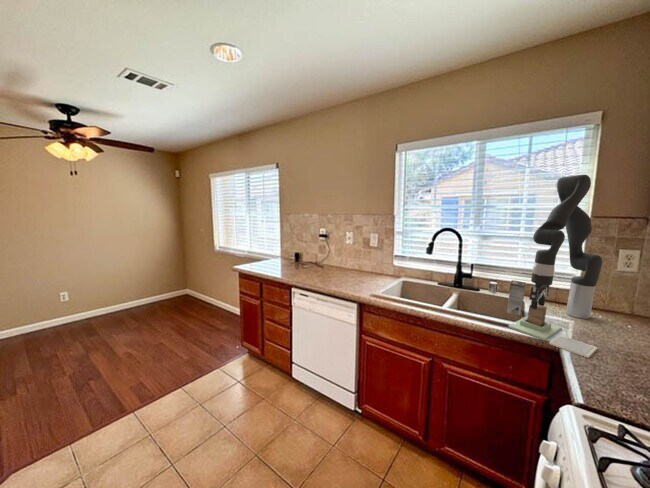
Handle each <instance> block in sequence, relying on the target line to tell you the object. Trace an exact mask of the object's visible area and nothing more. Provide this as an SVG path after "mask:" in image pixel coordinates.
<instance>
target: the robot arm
mask: <svg viewBox="0 0 650 488" xmlns="http://www.w3.org/2000/svg"><path fill="white" fill-rule="evenodd" d="M591 184H592V179H591V177H590V176H589V175H587V174H576V175H568V176H562V177H559V178H558V180H557V182H556V190H557V195H558V198H559V201H560V203H559V204H557V205H556V206H555V207H554V208H553V209H552V210H551V211H550V213H549V215H548V216H547V219H546V221H544V222H543V224H541V226H540V227H538V228H537V229H536V230H535V232H534V233H533V238H532V239H533V242H534V243H535V244H538V245H541V246H542V245H543V246H549V249H539V250H537V251H536V253H535V258H534V264H533V267H532V272H531V274H532V275H531V277H530V281H531V283H534V284H535V285H534V286H531V288H530V294H529V300H530V301H531V302H530V305H531V308H532V309H537V305H538V304H539V305H542V306H545V302H546V298H547V297H548V296H549V293H550V286H552V285H553V279H554V275H555V265H556V259H557V255H558V253H559V250H560V248H561V246H562V245H563V244H564V242H565V237H566V235H565V233H564V232H563V231H562V230H563V229H564V228H565V231H566V234H567V241H568V248H569V249H568V250H569V263H570V266H571V268H573V269H574V270H576V271H581V272H582V271H583V272H584V274H583V275H578V276H577V275H576V276H573V277H571V280H570V281H571V282H570V286H569V287H570V288H569V292H568V299H567V304H566V311H565V314H566V315H568V316H571V317H573V318H577V319H582V320H584V319H585V320H587V319H590V318H591V313H592V309H593V308H592V307H593V302H594V297H595V292H596V286H597V284H598V281H599V277H600V274H601V269H602V266H603V258H602V257H601V256H600V255H598V254H594V253H587V252H584V250H583V244H584V242H585V241H586V240H587V239H588V238H589V236H590V235H591V233H592V230H593V228H592V221H591V217H590V216H589V214H587V212H585V211H584V210H583V209H582V208H581V207H580V206H578V205H579V204H580V203H581V202H582V201H583V199H584V198H585V197H586V195H587V194H588V192H589V190H590V188H591Z"/></svg>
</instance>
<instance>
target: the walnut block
mask: <svg viewBox="0 0 650 488" xmlns="http://www.w3.org/2000/svg"><path fill="white" fill-rule="evenodd" d="M547 310H548V306H545V305H544V306H542V305H539V304H538V305H537V309H532V308H531V304H529V307H528V313H527V316H528V319H527V322H528V323H531V324H534V325H537V326H540V327H543V326H544V322H546V314H547Z"/></svg>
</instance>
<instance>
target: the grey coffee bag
mask: <svg viewBox="0 0 650 488" xmlns="http://www.w3.org/2000/svg"><path fill="white" fill-rule="evenodd" d="M509 285H510V286H509V294H508V300H507V307H506V308H507V309H506V313H508V314H512V315H516V316H522V312H523V305H524V298H525V293H526V282H523V281H521V280H520V281H519V280H513V279H511V282H510V284H509Z"/></svg>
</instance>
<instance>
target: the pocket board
mask: <svg viewBox="0 0 650 488" xmlns="http://www.w3.org/2000/svg"><path fill="white" fill-rule="evenodd" d="M527 319H528V315H526V316H523V317H522V318H519V320H515V321H514V322H512V323H510V324H508V326H507V328H508V329H512V330H515V331H517V332H520V333H522V334H525V335H529V336H530V337H534V338H537V339H539V340H543V341H546V340H548V339H549V338H551V337H552V336H554V335H555V334H556V333H558V332H559V331H561V330H562V329H563V328H562V326H559V325H557V324H554V323H550V322H546V321H545V322H544V326H543V327H540V326H537V325H534V324H531V323H528V322H527ZM514 323H516V324H514Z"/></svg>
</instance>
